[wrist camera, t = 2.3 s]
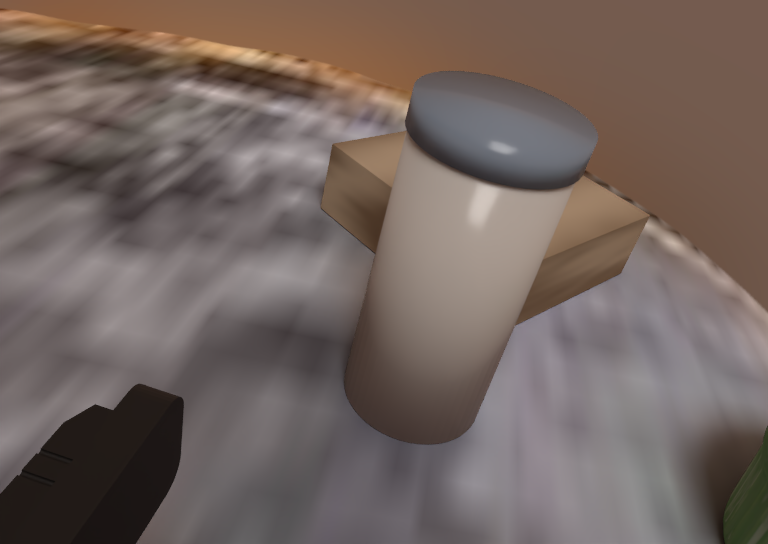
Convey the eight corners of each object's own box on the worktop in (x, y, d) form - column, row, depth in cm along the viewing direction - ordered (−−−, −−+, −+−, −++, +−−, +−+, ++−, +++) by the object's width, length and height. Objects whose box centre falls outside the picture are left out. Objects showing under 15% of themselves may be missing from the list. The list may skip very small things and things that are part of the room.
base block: (320, 207, 34) (332, 143, 32) (467, 171, 41) (484, 117, 39) (481, 341, 28) (508, 273, 26) (620, 273, 35) (650, 215, 33)
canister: (312, 369, 25) (374, 78, 19) (414, 326, 28) (496, 65, 22) (408, 471, 22) (519, 168, 16) (509, 409, 25) (633, 138, 19)
